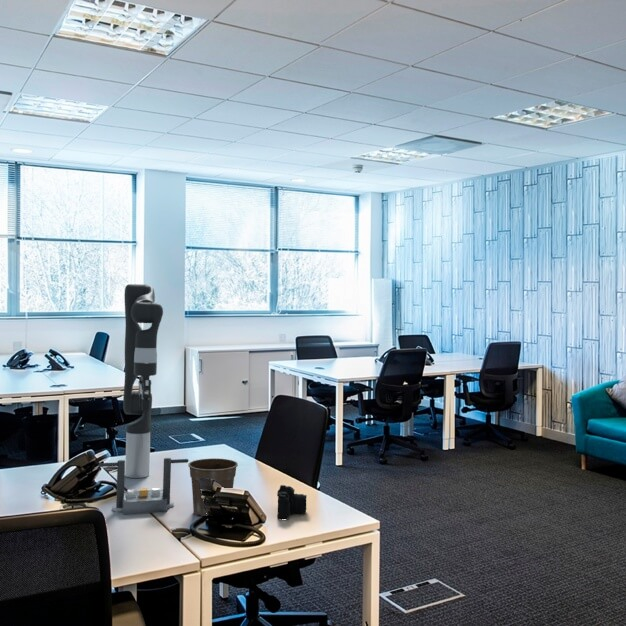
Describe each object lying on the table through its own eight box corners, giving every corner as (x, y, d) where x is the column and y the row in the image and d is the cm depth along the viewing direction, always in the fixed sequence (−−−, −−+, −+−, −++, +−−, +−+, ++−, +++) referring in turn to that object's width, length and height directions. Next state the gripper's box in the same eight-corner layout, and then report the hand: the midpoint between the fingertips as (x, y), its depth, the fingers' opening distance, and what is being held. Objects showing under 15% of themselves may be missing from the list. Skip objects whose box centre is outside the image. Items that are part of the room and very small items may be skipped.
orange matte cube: (139, 494, 224) (139, 488, 224) (146, 494, 225) (147, 488, 225) (140, 496, 222) (140, 490, 222) (147, 496, 223) (147, 490, 223)
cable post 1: (97, 508, 221) (98, 460, 220) (127, 506, 224) (128, 458, 224) (97, 513, 216) (99, 463, 216) (128, 511, 219) (129, 462, 219)
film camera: (305, 521, 215) (306, 493, 215) (275, 520, 215) (275, 492, 215) (306, 507, 230) (307, 481, 230) (278, 506, 230) (279, 480, 230)
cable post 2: (157, 504, 227) (158, 457, 227) (186, 502, 231) (187, 456, 231) (159, 508, 223) (160, 460, 222) (188, 506, 226) (189, 459, 226)
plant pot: (182, 506, 226) (183, 459, 226) (229, 502, 232) (230, 456, 232) (192, 522, 211) (194, 471, 210) (242, 517, 217) (243, 467, 216)
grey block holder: (120, 503, 227) (120, 486, 226) (162, 500, 231) (162, 483, 231) (122, 514, 215) (123, 496, 215) (167, 511, 220) (167, 493, 220)
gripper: (132, 359, 233) (130, 406, 233) (136, 362, 220) (134, 411, 220) (154, 359, 236) (152, 406, 236) (159, 362, 223) (157, 411, 222)
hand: (144, 408), depth 228 cm, fingers open, 8 cm apart
